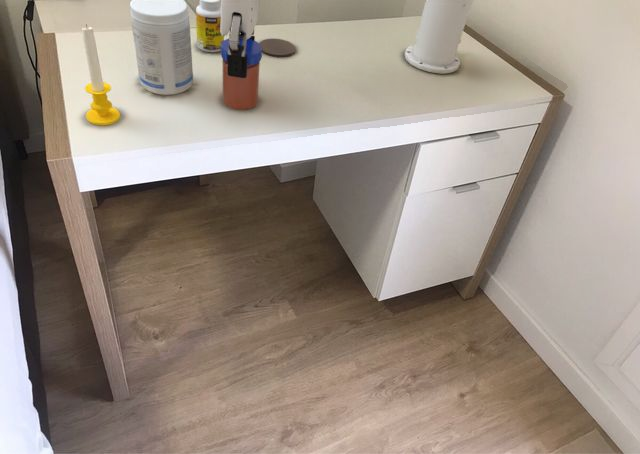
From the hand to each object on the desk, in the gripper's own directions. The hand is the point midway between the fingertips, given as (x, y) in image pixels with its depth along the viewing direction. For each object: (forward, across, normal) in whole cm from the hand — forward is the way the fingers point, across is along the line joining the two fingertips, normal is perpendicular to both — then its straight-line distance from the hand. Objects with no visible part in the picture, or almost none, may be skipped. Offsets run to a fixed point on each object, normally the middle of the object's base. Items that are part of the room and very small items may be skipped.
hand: (241, 65), depth 90 cm
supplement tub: (+7, -2, -14) cm, 16 cm away
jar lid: (-3, 0, 0) cm, 3 cm away
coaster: (+7, -24, +4) cm, 25 cm away
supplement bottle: (+7, -20, -10) cm, 23 cm away
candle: (+7, +11, -21) cm, 25 cm away
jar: (+7, 0, 0) cm, 7 cm away
